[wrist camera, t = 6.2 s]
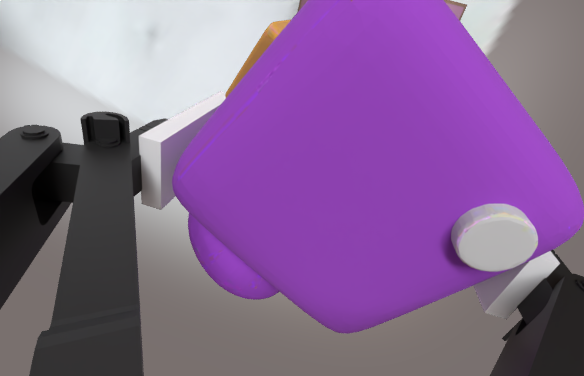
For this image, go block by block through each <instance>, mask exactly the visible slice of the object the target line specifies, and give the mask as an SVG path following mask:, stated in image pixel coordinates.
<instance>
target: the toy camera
mask: <svg viewBox="0 0 584 376" xmlns="http://www.w3.org/2000/svg"><path fill="white" fill-rule="evenodd" d="M225 97H226V99H225V100H224V101H223V103H222V104H221V105H220V106H219V107H218V109H217V110H216V111H215V112H214V113H213V115H212V116H211V117H210V118H209V119H208V121H207V122H206V123H205V124H204V126H203V127H202V128H201V129H200V131H199V132H198V133H197V134H196V136H195V137H194V138H193V139H192V141H191V142H190V143H189V145H188V146H187V148H186V149H185V151H184V152H183V154H182V155H181V157H180V159H179V161H178V163H177V165H176V168H175V171H174V174H173V177H172V187H173V191H174V193H175V195H176V197H177V199H178V200H179V201H180V203H181V204H182V205H183V206H184V207H185V208H186V210H187V211H188V212H189V218H188V229H189V236H190V241H191V244H192V246H193V249H194V252H195V254H196V256H197V258H198V260H199V262H200V264H201V265H202V267H203V268H204V269H205V271H206V272H207V273H208V275H209V276H210V277H211V278H212V279H213V280H214V281H215V282H216V283H217V284H218V285H219V286H221V287H223V288H224V289H225V290H227V291H228V292H230V293H232V294H234V295H237V296H240V297H242V298H247V299H264V298H268V297H271V296H273V295H275V294H276V293H278V292H279V291H280V292H281V293H282V294H284V295H285V296H286V297H287V298H288V299H289V300H291V301H292V302H293V303H294V304H296V305H297V306H298V307H299V308H301V309H302V310H303V311H304V312H306V313H307V314H308V315H310V316H311V317H312V318H314V319H315V320H317V321H318V322H319V323H321V324H322V325H324V326H325V327H327V328H329V329H331V330H333V331H335V332H338V333H353V332H359V331H362V330H365V329H368V328H371V327H374V326H376V325H379V324H381V323H384V322H386V321H389V320H391V319H394V318H396V317H399V316H401V315H404V314H406V313H408V312H411V311H413V310H416V309H418V308H421V307H423V306H425V305H428V304H430V303H432V302H435V301H437V300H439V299H442V298H444V297H446V296H449V295H451V294H454V293H456V292H458V291H461V290H463V289H466V288H468V287H470V286H473V285H475V284H477V283H480V282H482V281H485V280H487V279H489V278H492V277H494V276H496V275H499V274H501V273H503V272H506V271H508V270H510V269H512V268H515V267H517V266H519V265H521V264H524V263H526V262H528V261H530V260H533V259H535V258H537V257H539V256H541V255H543V254H545V253H547V252H549V251H551V250H553V249H555V248H556V247H558V246H560V245H561V244H563V243H564V242H566V241H567V240H569V239H570V238H571V237H572V236H573V235H574V234H575V233H576V232H577V231H578V230H579V229H580V227H581V226H582V223H583V219H584V206H583V202H582V199H581V196H580V193H579V190H578V187H577V185H576V183H575V181H574V180H573V178H572V176H571V174H570V173H569V171H568V169H567V168H566V166H565V165H564V163H563V161H562V160H561V158H560V157H559V155H558V154H557V153H556V151H555V150H554V148H553V147H552V146H551V144H550V143H549V141H548V140H547V139H546V137H545V136H544V134H543V133H542V132H541V130H540V129H539V128H538V126H537V125H536V124H535V122H534V121H533V120H532V118H531V117H530V116H529V114H528V113H527V112H526V110H525V109H524V108H523V106H522V105H521V103H520V102H519V101H518V99H517V98H516V97H515V95H514V94H513V93H512V91H511V90H510V88H509V87H508V86H507V84H506V83H505V82H504V80H503V79H502V78H501V76H500V75H499V74H498V72H497V71H496V70H495V68H494V67H493V65H492V64H491V63H490V61H489V60H488V59H487V57H486V56H485V55H484V53H483V52H482V51H481V49H480V48H479V47H478V45H477V44H476V42H475V41H474V40H473V38H472V37H471V36H470V34H469V33H468V32H467V30H466V29H465V28H464V26H463V25H462V23H461V22H460V21H459V19H458V18H457V17H456V16H455V14H454V13H453V12H452V10H451V9H450V8H449V7H448V5H447V4H446V3H445V2H444V0H308V1H307V2H306V3H305V5H304V6H303V7H302V8H301V9H300V10H299V11H298V13H297V14H296V15H295V16H294V17H293V19H292V20H285V21H277V22H273V23H271V24H270V25H269V26H268V28H267V29H266V30H265V32H264V33H263V35H262V36H261V38H260V40H259V41H258V43H257V44H256V46H255V47H254V49H253V50H252V52H251V54H250V55H249V57H248V58H247V60H246V62H245V63H244V65H243V67H242V68H241V70H240V71H239V73H238V75H237V76H236V78H235V79H234V81H233V83H232V84H231V86H230V87H229V89H228V91H227V92H226V94H225Z"/></svg>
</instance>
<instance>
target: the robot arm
mask: <svg viewBox="0 0 584 376" xmlns="http://www.w3.org/2000/svg"><path fill="white" fill-rule="evenodd" d="M225 94H226V93H225V92H221V91H220V92H218V93H216V94H214V95H212V96H211V97H209V98H207V99H205V100H203V101H201V102H200V103H198V104H196V105H194V106H192V107H191V108H189V109H187V110H185V111H183V112H181V113H180V114H178V115H176V116H174V117H172V118H170V119H169V120H168V119H160V120H155V121H152V122H150V123H148V124H146V125H145V126H142V127H140V128H139V129H137V130H135V131H133V132H131V133H130V131H129V120H128V118H127V117H125V116H123V115H121V114H118V113H113V112H93V113H88V114H86V115H83V116H82V118H81V124H82V132H83V139H84V145H77V144H69V143H62V139H61V134H60V132H59V131H58V130H57V129H55V128H52V127H47V126H39V125H31V126H30V125H27V126H24V127H20V128H16V129H13V130H11V131H9V132H8V133H7V134H5V135H4V136H2V137H1V138H0V309H1V307H2V306H3V305H4V303H5V302H6V300H7V299H8V297H9V295H10V294H11V293H12V291H13V289H14V288H15V287H16V285H17V284H18V282H19V281H20V279H21V277H22V276H23V275H24V273H25V272H26V270H27V269H28V267H29V266H30V264H31V263H32V261H33V260H34V258H35V257H36V255H37V253H38V252H39V251H40V249H41V248H42V246H43V245H44V243H45V241H46V240H47V238H48V237H49V236H50V234H51V233H52V231H53V229H54V228H55V226H56V225H57V224H58V222H59V221H60V219H61V218H62V216H63V215H64V213H65V212H66V210H67V209H68V207H69V205H70V204H71V203H73V207H72V212H71V218H70V223H69V229H68V234H67V240H66V245H65V251H64V256H63V262H62V267H61V273H60V278H59V284H58V289H57V295H56V300H55V306H54V311H53V317H52V322H51V326H50V328H49V330H47V331H42V332H41V334H40V336H39V337H38V340H37V344H36V348H35V351H34V356H33V360H32V365H31V370H30V375H29V376H144V372H143V356H142V355H143V354H142V337H141V319H140V301H139V285H138V268H137V267H138V266H137V250H136V230H135V213H134V196H135V195H136V194H138V193H139V192H140V191H141V199H142V204H144V205H147V206H150V207H153V208H156V209H160V210H161V209H162V208H163V207H165V205H167V204H168V203H169V202H170V201H171V200H172V199H173V198H174V197H175V196H176V195H175V193H174V191H173V187H172V177H173V174H174V171H175V168H176V165H177V163H178V161H179V159H180V157H181V155H182V154H183V152H184V151H185V149H186V148H187V146H188V145H189V143H190V142H191V141H192V139H193V138H194V137H195V136H196V134H197V133H198V132H199V131H200V129H201V128H202V127H203V126H204V124H205V123H206V122H207V121H208V119H209V118H210V117H211V116H212V115H213V113H214V112H215V111H216V110H217V109H218V107H219V106H220V105H221V104H222V103H223V101H224V100H225V99H226V97H225ZM474 288H475V290H476V293H477V295H478V298H479V300H480V303H481V305H482V308H483V310H484V312H485V313H488V314H491V315H494V316H497V317H501V318H504V319H507V318H508V317H509V316H510V315H511V314H512V313H513V312H514V311H515V310H516V309H517V308H518V309H519V311H520V313H521V315H522V317H523V318H522V319H521V320H520V321H519V322H518V323H517V324H516V325H515V326H514V327H513V328H512V329H511V330H510V331H509V332H508V333H507V334H506V335H505V336H504V337H503V338H502V339H503V340H504V341H506V340H508V341H507V343H506V344H505V347H504V348H503V351H502V353H501V354H500V356H499V359H498V360H497V362H496V365H495V367H494V368H493V370H492V372H491V374H490V376H584V277H583V276H580V275H577V274H572V273H571V272H570V271H569V269H568V268H567V267H566V265H565V264H564V263H563V262H562V260H561V259H560V258H559V257H558V255H557V254H555V252H554V250H551V251H549V252H547V253H545V254H543V255H541V256H539V257H537V258H535V259H533V260H530V261H528V262H526V263H524V264H521V265H519V266H517V267H515V268H512V269H510V270H508V271H506V272H503V273H501V274H499V275H496V276H494V277H492V278H489V279H487V280H485V281H482V282H480V283H477V284H475V285H474Z"/></svg>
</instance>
